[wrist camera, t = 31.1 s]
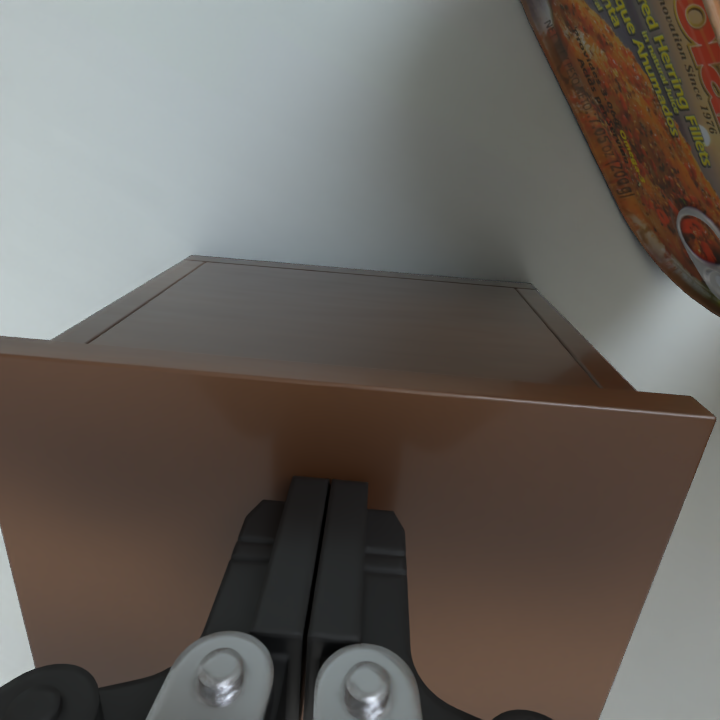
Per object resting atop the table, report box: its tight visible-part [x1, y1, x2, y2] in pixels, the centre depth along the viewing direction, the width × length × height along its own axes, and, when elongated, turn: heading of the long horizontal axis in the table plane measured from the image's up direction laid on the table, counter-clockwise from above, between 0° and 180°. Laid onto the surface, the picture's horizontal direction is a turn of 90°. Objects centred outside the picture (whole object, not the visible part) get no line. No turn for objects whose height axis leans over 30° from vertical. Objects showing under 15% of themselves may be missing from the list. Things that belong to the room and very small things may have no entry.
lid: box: [0, 336, 716, 720], centre depth 14 cm, size 20×14×1 cm
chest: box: [51, 255, 637, 391], centre depth 20 cm, size 19×14×11 cm
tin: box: [520, 0, 720, 317], centre depth 14 cm, size 15×3×8 cm, turn 34°
